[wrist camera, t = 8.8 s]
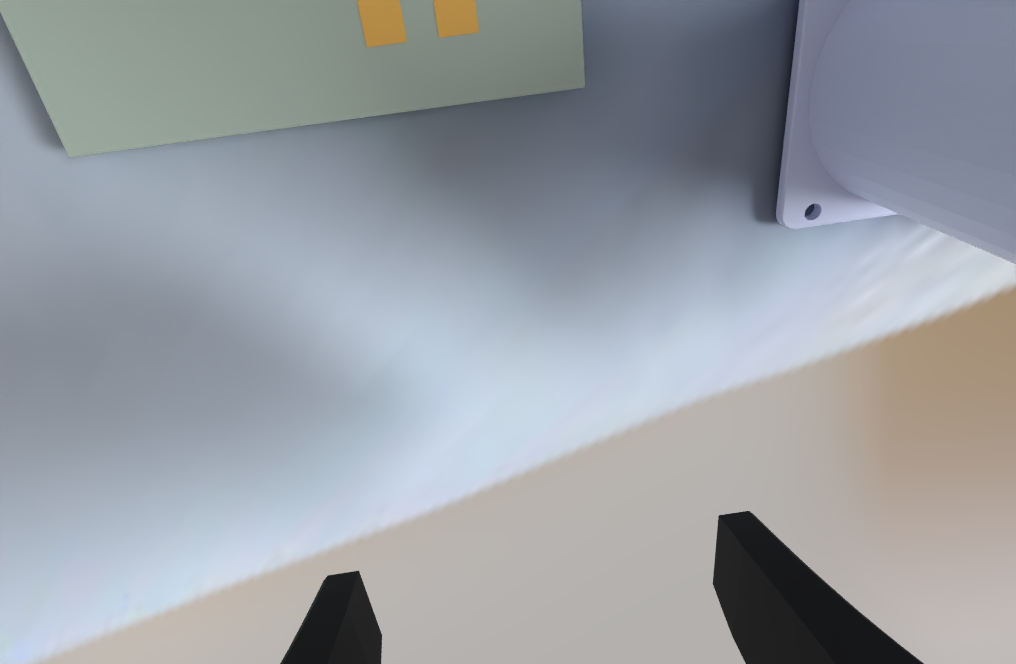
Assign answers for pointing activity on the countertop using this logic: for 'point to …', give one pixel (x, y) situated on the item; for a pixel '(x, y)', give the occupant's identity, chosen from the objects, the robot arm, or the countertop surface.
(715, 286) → the countertop surface
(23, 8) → the board
